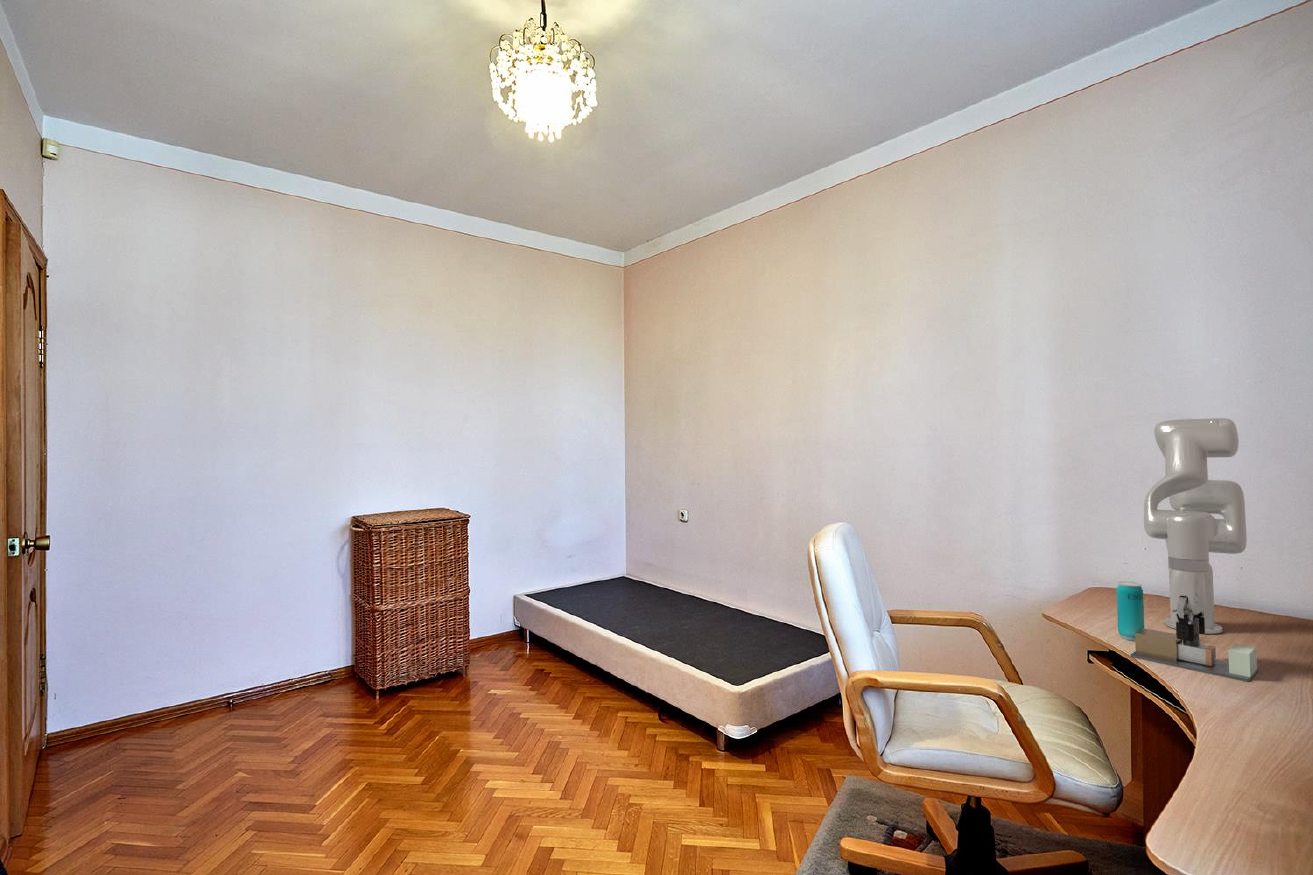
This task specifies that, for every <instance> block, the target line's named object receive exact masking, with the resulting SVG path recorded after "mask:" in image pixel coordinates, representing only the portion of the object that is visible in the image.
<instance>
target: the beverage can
mask: <svg viewBox="0 0 1313 875" xmlns="http://www.w3.org/2000/svg"><path fill="white" fill-rule="evenodd" d="M1144 611H1145V609H1144V590H1143V588H1142V584H1141V583H1138V582H1135V581H1134V582H1133V581H1117V586H1116V612H1117V615H1116V616H1117V631H1118V634H1119V636H1120V637H1121V639H1123V640H1127V641H1133V642H1134V641H1135V633H1136V632H1138V631H1139V630H1141V629H1143V628H1145V614H1144ZM1135 642H1136V641H1135Z"/></svg>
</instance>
